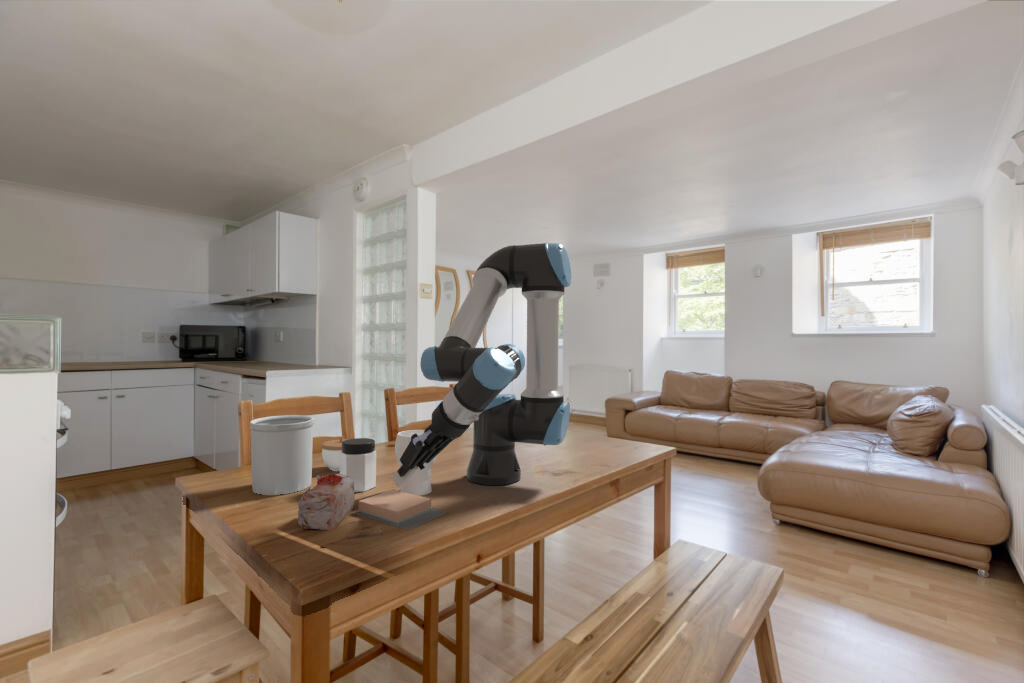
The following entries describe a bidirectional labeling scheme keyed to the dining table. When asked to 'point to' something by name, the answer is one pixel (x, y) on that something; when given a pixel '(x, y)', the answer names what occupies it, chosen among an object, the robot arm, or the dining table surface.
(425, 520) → the mat
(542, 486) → the dining table surface
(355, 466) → the jar
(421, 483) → the cup
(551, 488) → the dining table surface
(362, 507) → the tile
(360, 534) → the spatula
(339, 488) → the food item
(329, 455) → the lidded jar
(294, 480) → the utensil holder
